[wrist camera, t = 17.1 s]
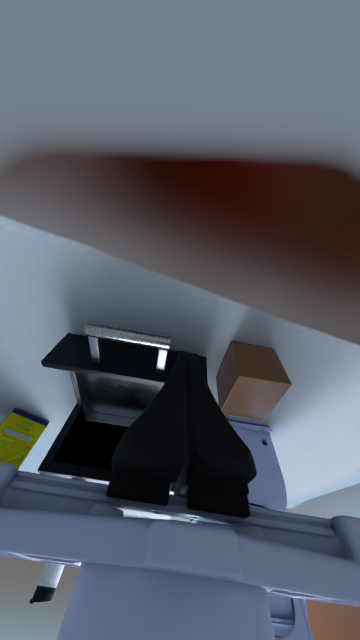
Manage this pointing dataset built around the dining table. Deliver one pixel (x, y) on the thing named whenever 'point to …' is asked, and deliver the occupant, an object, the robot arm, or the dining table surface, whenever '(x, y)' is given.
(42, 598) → the travel mug
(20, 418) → the supplement box
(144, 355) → the drawer
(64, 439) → the black and silver box
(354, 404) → the dining table surface
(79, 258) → the dining table surface
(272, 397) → the block
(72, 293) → the dining table surface
